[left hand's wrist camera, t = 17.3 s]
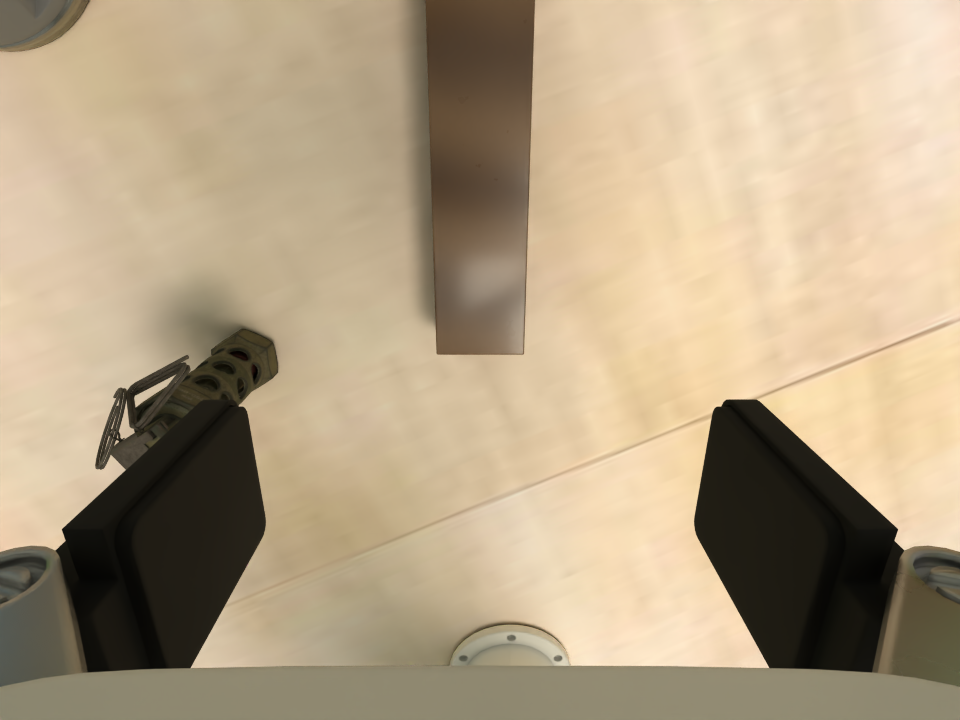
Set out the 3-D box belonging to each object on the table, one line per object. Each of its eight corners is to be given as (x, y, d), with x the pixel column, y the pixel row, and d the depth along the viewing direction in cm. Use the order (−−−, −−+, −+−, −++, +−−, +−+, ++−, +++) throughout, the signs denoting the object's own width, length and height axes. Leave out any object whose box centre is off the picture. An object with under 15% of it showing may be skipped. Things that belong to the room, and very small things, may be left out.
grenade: (252, 298, 43) (142, 373, 29) (299, 358, 45) (217, 456, 31) (168, 354, 44) (25, 450, 30) (216, 409, 46) (102, 524, 32)
